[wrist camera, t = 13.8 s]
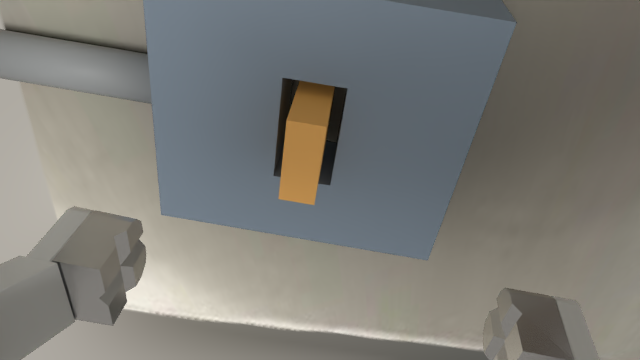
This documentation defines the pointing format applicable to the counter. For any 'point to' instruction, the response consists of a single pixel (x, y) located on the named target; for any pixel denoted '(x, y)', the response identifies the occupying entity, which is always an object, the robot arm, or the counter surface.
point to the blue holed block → (274, 102)
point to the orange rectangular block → (305, 142)
